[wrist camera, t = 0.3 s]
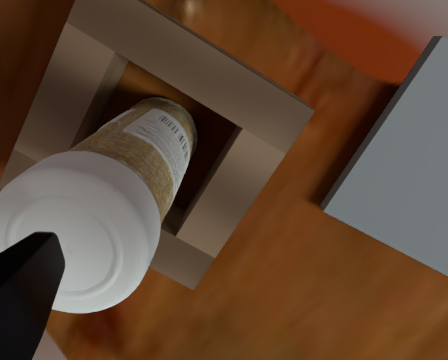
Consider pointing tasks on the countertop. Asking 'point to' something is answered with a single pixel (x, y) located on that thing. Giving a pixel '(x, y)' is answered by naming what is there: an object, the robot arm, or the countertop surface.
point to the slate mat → (404, 167)
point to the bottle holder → (185, 82)
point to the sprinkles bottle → (104, 201)
